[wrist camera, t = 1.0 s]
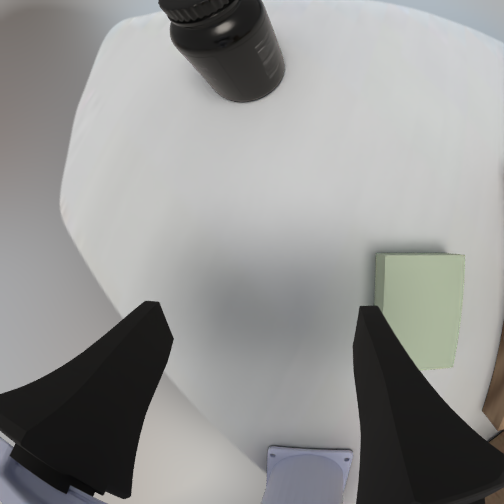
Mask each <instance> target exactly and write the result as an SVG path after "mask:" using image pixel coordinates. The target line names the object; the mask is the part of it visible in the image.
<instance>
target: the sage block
mask: <svg viewBox="0 0 504 504" xmlns="http://www.w3.org/2000/svg"><path fill="white" fill-rule="evenodd" d="M464 274H465V255H460V254H449V253H376V269H375V297H374V306H378V307H379V308H380V310H381V311H382V313H383V315H384V317H385V318H386V320H387V322H388V323H389V325H390V327H391V328H392V330H393V332H394V333H395V335H396V336H397V338H398V340H399V341H400V343H401V344H402V346H403V347H404V349H405V350H406V352H407V353H408V355H409V356H410V358H411V359H412V360H413V362H414V363H415V365H416V366H417V367H418V369H419V370H420V371H421V370H432V369H442V368H451V367H453V364H454V359H455V354H456V348H457V342H458V336H459V329H460V321H461V312H462V302H463V290H464Z"/></svg>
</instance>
